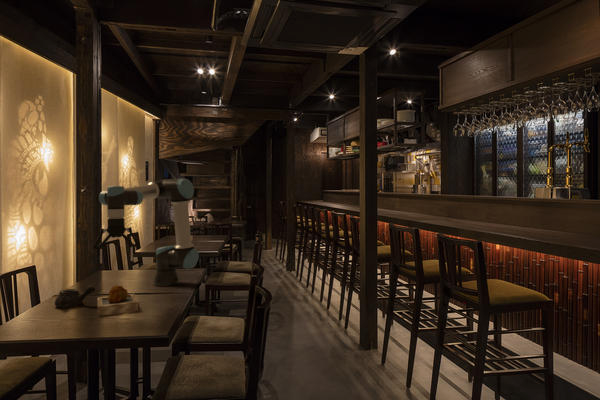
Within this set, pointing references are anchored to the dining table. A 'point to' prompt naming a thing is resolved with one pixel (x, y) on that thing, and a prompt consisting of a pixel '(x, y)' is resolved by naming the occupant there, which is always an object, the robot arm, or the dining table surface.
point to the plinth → (117, 305)
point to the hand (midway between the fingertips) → (116, 261)
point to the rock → (117, 294)
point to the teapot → (72, 297)
